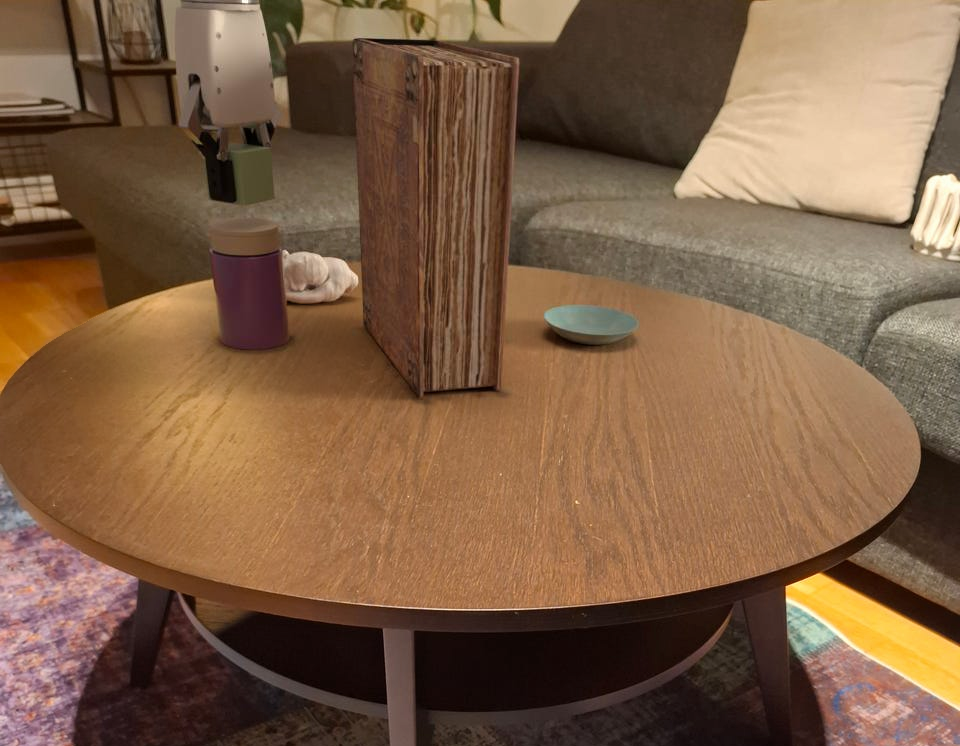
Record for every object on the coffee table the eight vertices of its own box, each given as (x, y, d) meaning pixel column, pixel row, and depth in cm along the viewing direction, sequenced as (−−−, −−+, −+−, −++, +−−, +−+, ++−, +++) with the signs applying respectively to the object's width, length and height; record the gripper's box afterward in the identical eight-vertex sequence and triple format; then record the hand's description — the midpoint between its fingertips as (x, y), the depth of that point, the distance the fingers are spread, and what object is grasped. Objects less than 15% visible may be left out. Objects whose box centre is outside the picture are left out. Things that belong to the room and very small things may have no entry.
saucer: (646, 331, 115) (648, 313, 114) (622, 358, 106) (625, 339, 105) (558, 317, 119) (560, 299, 117) (528, 342, 110) (530, 323, 108)
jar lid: (196, 248, 99) (193, 225, 98) (240, 236, 105) (238, 214, 103) (250, 259, 97) (248, 235, 95) (293, 246, 102) (291, 223, 101)
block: (208, 200, 97) (201, 147, 94) (238, 193, 101) (233, 142, 98) (245, 206, 95) (239, 152, 92) (274, 198, 99) (270, 147, 96)
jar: (206, 341, 105) (191, 231, 98) (250, 324, 111) (239, 219, 104) (260, 354, 102) (249, 242, 95) (303, 336, 108) (295, 228, 101)
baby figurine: (365, 298, 123) (358, 254, 115) (292, 343, 120) (280, 301, 112) (328, 257, 125) (319, 210, 117) (256, 300, 122) (241, 255, 114)
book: (501, 392, 96) (520, 58, 78) (418, 400, 93) (418, 55, 75) (433, 321, 115) (436, 40, 97) (362, 325, 112) (352, 37, 95)
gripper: (245, -10, 95) (263, 182, 105) (124, -13, 82) (158, 204, 93) (303, -6, 92) (316, 190, 103) (187, -9, 80) (215, 214, 90)
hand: (241, 195), depth 98 cm, fingers closed on block, 5 cm apart
